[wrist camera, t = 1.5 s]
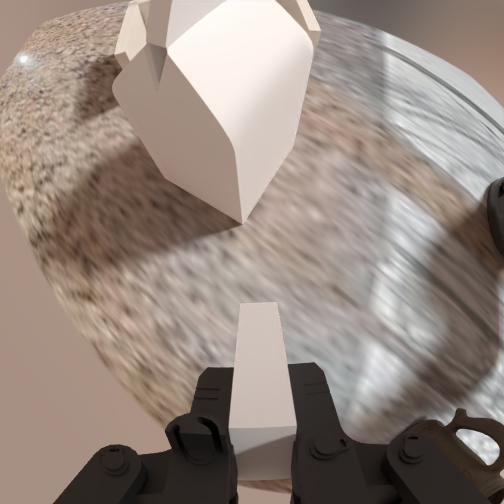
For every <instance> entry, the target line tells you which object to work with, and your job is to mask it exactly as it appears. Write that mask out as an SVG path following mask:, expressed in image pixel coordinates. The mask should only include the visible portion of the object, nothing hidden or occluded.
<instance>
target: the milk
mask: <svg viewBox="0 0 504 504" xmlns="http://www.w3.org/2000/svg"><path fill="white" fill-rule="evenodd" d="M146 42H147V44H146V45H145V46H144V47H143V48H142V49H141V50H140V51H139V52H138V54H137V55H136V56H135V57H134V58H133V59H132V60H131V61H130V62H129V63H128V64H127V65H126V67H125V68H124V69H123V70H122V71H121V72H120V73H119V75H118V76H117V77H116V79H115V80H114V81H113V85H112V92H113V94H114V96H115V98H116V100H117V102H118V103H119V105H120V107H121V108H122V110H123V112H124V113H125V115H126V117H127V118H128V120H129V122H130V123H131V125H132V127H133V128H134V130H135V132H136V133H137V135H138V136H139V138H140V140H141V141H142V143H143V145H144V146H145V148H146V149H147V151H148V153H149V154H150V156H151V157H152V159H153V161H154V162H155V164H156V165H157V167H158V169H159V170H160V172H161V173H162V175H163V177H164V178H165V179H167V180H169V181H170V182H172V183H174V184H175V185H177V186H179V187H180V188H182V189H184V190H186V191H187V192H189V193H191V194H192V195H194V196H196V197H197V198H199V199H201V200H202V201H204V202H206V203H207V204H209V205H211V206H212V207H214V208H216V209H218V210H219V211H221V212H223V213H224V214H226V215H228V216H229V217H231V218H233V219H234V220H236V221H237V222H239V223H241V224H242V225H243V224H244V222H245V220H246V219H247V217H248V216H249V214H250V213H251V211H252V209H253V208H254V206H255V205H256V203H257V202H258V200H259V198H260V197H261V195H262V194H263V192H264V191H265V189H266V188H267V186H268V184H269V183H270V181H271V180H272V178H273V177H274V175H275V174H276V172H277V171H278V169H279V167H280V166H281V164H282V163H283V161H284V160H285V158H286V157H287V155H288V154H289V152H290V151H291V149H292V148H293V145H294V141H295V136H296V132H297V128H298V123H299V119H300V114H301V110H302V105H303V101H304V96H305V91H306V87H307V82H308V77H309V73H310V68H311V63H312V59H313V51H314V48H313V45H312V41H311V40H310V38H309V36H308V35H307V33H306V32H305V31H304V30H303V28H302V27H301V26H300V25H299V24H298V23H297V22H296V21H295V20H294V19H293V17H292V16H291V15H290V14H289V13H288V12H287V11H286V10H285V9H284V8H283V7H282V6H281V5H280V4H278V3H277V2H276V1H275V0H150V7H149V15H148V24H147V34H146Z"/></svg>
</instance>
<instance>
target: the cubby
mask: <svg viewBox="0 0 504 504" xmlns="http://www.w3.org/2000/svg"><path fill="white" fill-rule="evenodd" d="M275 1H276V2H277V3H278V4H280V5H281V6H282V7H283V8H284V9H285V10H286V11H287V12H288V13H289V14H290V15H291V16H292V17H293V19H294V20H295V21H296V22H297V23H298V24H299V25H300V26H301V27H302V28H303V30H304V31H305V32H306V33H307V35H308V36H309V38H310V40H311V41H312V45H313V48H314V51H313V57H314V54H315V50H316V47H317V43H318V40H319V37H320V33H321V29H320V27H319V25H318V23H317V20H316V18H315V16H314V14H313V12H312V10H311V8H310V6H309V4H308V2H307V0H275ZM149 7H150V0H135V1H131V2H130V3H129V6H128V9H127V12H126V15H125V18H124V21H123V24H122V27H121V31H120V34H119V38H118V42H117V45H116V49H115V53H114V56H115V58H116V59H117V61H118V63H119V65H120V66H121V68H122V70H123V69H124V68H125V67H126V65H127V64H128V63H129V62H130V61H131V60H132V59H133V58H134V57H135V56H136V55H137V54H138V52H139V51H140V50H141V49H142V48H143V47H144V46H145V45H146V44H147V42H146V34H147V24H148V15H149ZM312 60H313V59H312ZM311 64H312V63H311Z"/></svg>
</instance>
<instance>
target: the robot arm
mask: <svg viewBox="0 0 504 504" xmlns="http://www.w3.org/2000/svg"><path fill="white" fill-rule="evenodd" d="M488 218H489V224H490V228H491V232H492V235H493V238H494V241H495V243H496V245H497V247H498V249H499V251H500V253H501V254H502V255H503V256H504V177H502V178H500V179H498V180H496V181H495V182H494V183H493V184H492V186H491V188H490V191H489V195H488ZM165 433H166V436H167V438H168V440H169V443H170V445H171V447H172V449H170V450H167V451H164V452H159V453H151V454H142V455H138V454H137V453H136V451H134V450H133V449H131V448H130V447H128V446H124V445H109V446H106V447H104V448H101V449H100V450H99V451H98V452H96V453H95V454H94V455H93V457H92V458H91V459H90V461H88V463H87V464H86V465H85V466H84V467H83V469H82V470H81V471H80V472H79V473H78V475H77V476H76V477H75V478H74V479H73V481H72V482H71V483H70V484H69V485H68V486H67V488H66V489H65V490H64V491H63V493H62V494H61V495H60V496H59V497H58V499H57V500H56V501H55V502H54V503H53V504H238V493H237V479H238V481H257V480H280V479H291V477H292V487H293V489H292V495H291V501H290V504H492V503H491V502H490V501H489V500H488V499H487V498H486V497H485V496H484V495H483V494H482V493H481V492H480V491H479V489H478V488H477V487H476V486H475V485H474V484H473V483H472V482H471V481H470V480H469V479H468V478H467V477H466V476H465V475H464V474H463V472H462V471H461V470H460V469H459V468H458V467H457V466H456V465H455V464H454V463H453V462H452V461H451V460H450V459H449V458H448V457H447V455H446V454H445V453H444V452H443V451H442V450H441V449H440V448H439V447H438V446H437V445H436V444H435V443H434V442H433V441H432V440H431V439H430V438H428V437H427V436H426V435H423V434H419V433H405V434H402V435H399V436H397V437H396V438H395V439H393V440H392V441H391V442H390V444H389V445H380V444H365V443H360V442H357V441H355V440H353V439H351V438H350V437H349V436H347V435H346V434H345V433H344V432H343V430H342V428H341V425H340V422H339V419H338V416H337V412H336V409H335V406H334V403H333V399H332V396H331V393H330V390H329V387H328V384H327V381H326V377H325V374H324V371H323V370H322V369H321V368H320V367H319V366H318V365H317V364H316V363H315V362H312V363H300V364H287V360H286V353H285V347H284V341H283V335H282V329H281V323H280V318H279V312H278V306H277V302H267V303H241V304H240V313H239V323H238V333H237V344H236V354H235V364H234V367H231V368H214V367H207V369H206V370H205V371H204V372H203V373H202V374H201V375H200V376H199V379H198V383H197V387H196V391H195V395H194V400H193V403H192V407H191V411H190V413H187V414H184V415H182V416H179V417H177V418H175V419H174V420H173V421H171V422H170V423H169V424H168V426H167V428H166V429H165Z"/></svg>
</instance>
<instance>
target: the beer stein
mask: <svg viewBox="0 0 504 504" xmlns="http://www.w3.org/2000/svg"><path fill="white" fill-rule="evenodd" d="M459 429H468V430H474V431H477V432H481V433H483V434H485V435H488V436H489V437H491V438H492V439H493V440H494V441H495V442H496V443H497V444H498V446H499V448H500V454H499V457H498V458H497V460H496V461H495V462H494V463H493V464H492V465H487V464H486V463H485V462H484V461H483V460H482V459H481V458H480V457H479V456H478V455H476V454H475V453H474V452H473V451H472V450H471V449H470V448H469V447H468V446H467V445H466V444H465V443H464V442H463V441H462V440H460V439H459V438H458V437H457V436H456V432H457V430H459ZM405 433H419V434H423V435H426V436H427V437H428V438H430V439H431V440H432V441H433V442H434V443H435V444H436V445H437V446H438V447H439V448H440V449H441V450H442V451H443V452H444V453H445V454H446V455H447V457H448V458H449V459H450V460H451V461H452V462H453V463H454V464H455V465H456V466H457V467H458V468H459V469H460V470H461V471H462V472H463V474H464V475H465V476H466V477H467V478H468V479H469V480H470V481H471V482H472V483H473V484H474V485H475V486H476V487H477V488H478V489H479V491H480V492H481V493H482V494H483V495H484V496H485V497H486V498H487V499H488V500H489V501H490V502H491V503H492V504H501V502H502V501H503V499H504V479H503V478H502V477H501V476H500V472H501V471H502V470H503V469H504V425H502V424H501V423H500V422H498V421H496V420H493V419H489V418H471V417H468V416H467V414H466V410H464V409H460V408H458V409H457V410H456V413H455V416H454V418H453V420H452V421H451V422H450V423H449V424H448V425H447V426H444V425H443V424H442V423H441V422H440V421H438V420H426V421H423V422H420V423H417V424H416V425H414V426H413V427H411V428H410V429H408V430H407V431H406V432H404V433H403V434H405Z"/></svg>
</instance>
